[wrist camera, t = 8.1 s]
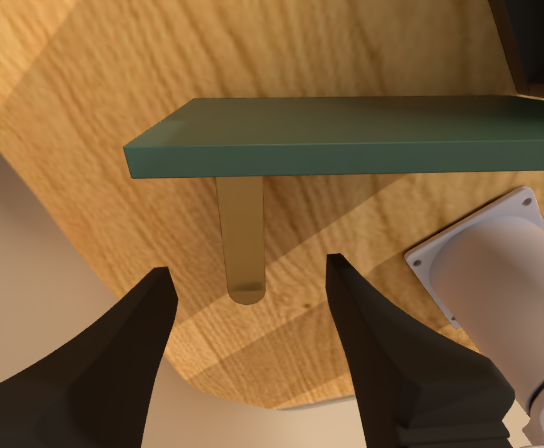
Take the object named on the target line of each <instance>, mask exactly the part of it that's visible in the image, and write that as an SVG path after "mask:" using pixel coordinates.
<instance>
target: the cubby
mask: <svg viewBox="0 0 544 448" xmlns="http://www.w3.org/2000/svg"><path fill="white" fill-rule="evenodd" d="M489 2H490V5H491V8H492V12H493V15H494V18H495V21H496V25H497V28H498V31H499V34H500V37H501V41H502V44H503V47H504V50H505V54H506V57H507V60H508V63H509V67H510V70H511V73H512V76H513V79H514V83H515V86H516V89H517V92H518V94H521V95H527V96H534V97H541V98H544V0H489Z"/></svg>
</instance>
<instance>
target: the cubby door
mask: <svg viewBox="0 0 544 448" xmlns="http://www.w3.org/2000/svg"><path fill="white" fill-rule="evenodd" d="M123 149H124V153H125V157H126V160H127V164H128V167H129V171H130V175H131V178H132V179H145V178H195V177H215V181H216V190H217V199H218V208H219V217H220V225H221V234H222V243H223V252H224V261H225V269H226V278H227V287H228V293H229V296H230V297H231V299H232V300H233V301H235V302H237V303H239V304H243V305H250V304H254V303H257V302H259V301H260V300H261V299H262V298H263V297H264V295H265V291H266V287H265V241H264V195H263V176H294V175H344V174H394V173H444V172H494V171H544V101H543V100H536V99H530V98H524V97H518V96H511V95H487V96H392V97H297V98H202V99H192V100H191V101H190V102H188V103H187V104H185V105H184V106H182V107H181V108H179V109H178V110H176V111H175V112H173V113H172V114H170V115H169V116H168V117H166V118H165V119H163V120H162V121H160V122H159V123H157V124H156V125H154V126H153V127H151V128H150V129H148V130H147V131H145V132H144V133H143V134H141V135H140V136H138V137H137V138H135V139H134V140H132V141H131V142H129V143H128V144H126V145H125V146H123Z"/></svg>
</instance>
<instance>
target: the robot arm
mask: <svg viewBox="0 0 544 448" xmlns="http://www.w3.org/2000/svg"><path fill="white" fill-rule="evenodd" d="M525 199H526V200H525ZM524 200H525V201H524ZM523 201H524V202H523ZM404 259H405V261H406V262H407V263H408V265H409V266H410V268H411V269H412V270H413V272H414V273H415V275H416V276H417V277H418V279H419V280H420V282H421V283H422V284H423V286H424V287H425V289H426V290H427V291H428V293H429V294H430V296H431V297H432V298H433V300H434V301H435V303H436V304H437V305H438V307H439V308H440V310H441V311H442V312H443V314H444V315H445V317H446V318H447V319H448V321H449V322H450V324H451V325H452V326H453V327H454V328H461V327H462V328H463V329H464V331H465V332H466V333H467V335H468V336H469V337H470V339H471V340H472V341H473V343H474V344H475V345H476V347H477V348H478V349H479V351H480V352H481V353H482V355H481V354H479V353H477V352H475V351H473V350H471V349H468V348H466V347H464V346H462V345H460V344H458V343H456V342H454V341H452V340H450V339H448V338H447V337H445V336H443V335H441V334H439V333H437V332H436V331H434V330H432V329H430V328H429V327H427V326H425V325H424V324H422V323H421V322H419V321H417V320H416V319H414V318H413V317H411V316H410V315H408V314H407V313H405V312H404V311H403V310H401V309H400V308H398V307H397V306H396V305H394V304H393V303H392V302H390V301H389V300H388V299H387V298H386V297H384V296H383V295H382V294H381V293H380V292H379V291H377V290H376V289H375V288H374V287H373V286H372V285H371V284H370V283H369V282H368V281H367V280H366V279H365V278H364V277H363V276H362V275H361V274H360V273H359V272H358V271H357V270H356V269H355V268H354V267H353V266H352V265H351V264H350V263H349V262H348V261H347V260H346V259H345V257H344V256H343V255H342V254H341V253H337V254H327V262H326V293H327V298H328V303H329V307H330V311H331V314H332V316H333V319H334V322H335V325H336V328H337V331H338V334H339V337H340V340H341V343H342V346H343V349H344V351H345V355H346V358H347V361H348V365H349V369H350V373H351V377H352V382H353V386H354V390H355V395H356V399H357V403H358V407H359V412H360V417H361V422H362V426H363V431H364V436H365V441H366V446H367V448H513V447H512V446H511V444H510V443H509V441H508V439H507V438H509V437H510V434H509V431H508V430H507V428H506V427H505V425H504V424H503V422H502V419H503V418H504V416H505V415H506V413H507V412H508V411H509V409H510V408H511V406H512V404H513V402H514V400H515V399H516V400H517V402H518V403H519V404H520V405H521V407H522V408H523V409H524V411H525V412H526V414H527V415H528V416H529V417H530V421H529V423H528V424H527V425H526V426H525V427H524V428H523V429H522V431H523V432H524V434H525V435H526V437H527V438H528V439H529V441H530V442H531V444H532V446H525V447H521V448H544V221H543V218H542V215H541V212H540V209H539V207H538V204H537V201H536V198H535V195H534V192H533V190H532V189H531V188H529V187H526V186H521V187H519V188H517V189H515V190H513V191H511V192H510V193H508V194H506V195H505V196H503V197H501V198H499V199H498V200H496V201H494V202H492V203H491V204H489V205H487V206H485V207H484V208H482V209H480V210H478V211H477V212H475V213H473V214H472V215H470V216H468V217H466V218H465V219H463V220H461V221H459V222H458V223H456V224H454V225H452V226H451V227H449V228H447V229H446V230H444V231H442V232H440V233H439V234H437V235H435V236H433V237H432V238H430V239H428V240H426V241H425V242H423V243H421V244H420V245H418V246H416V247H414V248H413V249H411V250H409V251H408V252H406V254H405V255H404ZM417 260H418V261H417ZM415 261H417V262H415ZM414 262H415V263H414ZM177 305H178V297H177V293H176V290H175V287H174V284H173V281H172V278H171V275H170V272H169V269H168V267H157V268H153V269H152V270H151V271H150V272H149V273H148V274H147V275H146V276H145V277H144V278H143V279H142V280H141V281H140V282H139V283H138V284H137V285H136V286H135V287H134V288H132V289H131V290H130V291H129V292H128V293H127V294H126V295H125V296H124V297H123V298H122V299H121V300H120V301H119V302H118V303H116V304H115V305H114V306H113V307H112V308H111V309H110V310H108V311H107V312H106V313H105V314H104V315H103V316H102V317H100V318H99V319H98V320H97V321H95V322H94V323H93V324H92V325H90V326H89V327H88V328H86V329H85V330H84V331H82V332H81V333H80V334H79V335H77V336H76V337H74V338H73V339H72V340H70V341H69V342H67V343H66V344H64V345H63V346H61V347H60V348H58V349H57V350H55V351H54V352H52V353H51V354H49V355H48V356H46V357H44V358H43V359H41V360H39V361H38V362H36V363H35V364H33V365H31V366H30V367H28V368H26V369H25V370H23V371H21V372H19V373H17V374H16V375H14V376H12V377H10V378H9V379H7V380H5V381H3V382H1V383H0V448H141V444H142V439H143V433H144V428H145V423H146V418H147V413H148V408H149V403H150V399H151V395H152V390H153V386H154V382H155V378H156V374H157V371H158V368H159V364H160V361H161V358H162V356H163V353H164V350H165V347H166V344H167V341H168V338H169V335H170V332H171V329H172V326H173V323H174V320H175V315H176V311H177Z"/></svg>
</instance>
